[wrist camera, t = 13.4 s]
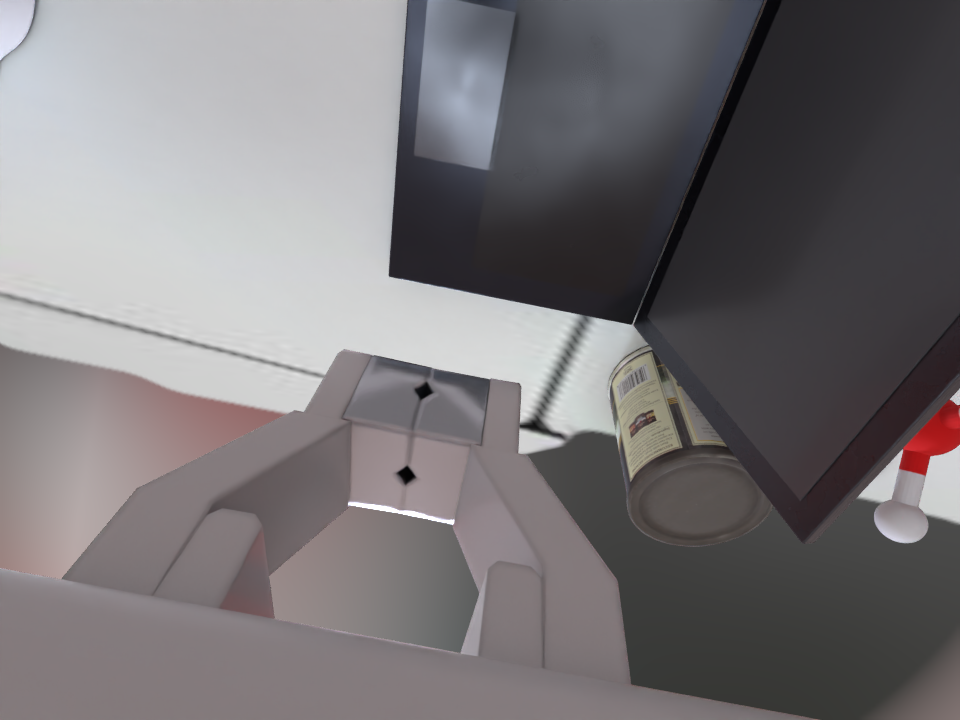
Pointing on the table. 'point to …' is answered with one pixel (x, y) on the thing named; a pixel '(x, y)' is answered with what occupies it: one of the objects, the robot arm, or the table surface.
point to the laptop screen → (822, 250)
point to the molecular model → (917, 476)
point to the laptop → (554, 142)
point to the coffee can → (677, 461)
